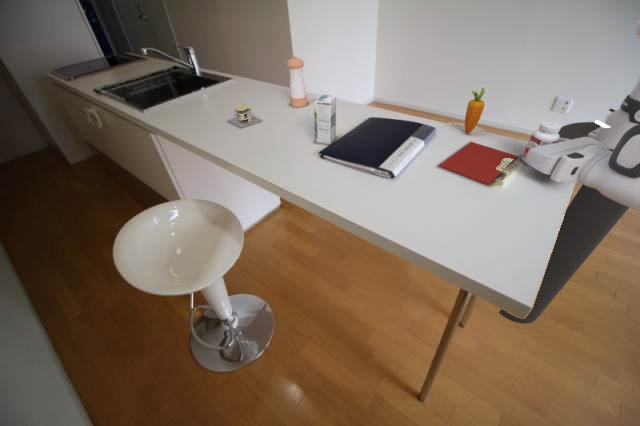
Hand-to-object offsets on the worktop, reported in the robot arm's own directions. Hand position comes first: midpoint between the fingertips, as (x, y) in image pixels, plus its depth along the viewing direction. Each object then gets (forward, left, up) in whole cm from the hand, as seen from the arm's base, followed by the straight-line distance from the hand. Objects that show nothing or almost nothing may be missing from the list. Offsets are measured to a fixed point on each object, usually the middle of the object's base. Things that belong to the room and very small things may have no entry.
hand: (539, 140), depth 80 cm
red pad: (+11, -10, -6) cm, 16 cm away
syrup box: (+31, -54, -6) cm, 63 cm away
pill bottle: (0, +1, -6) cm, 6 cm away
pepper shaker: (+14, -89, -6) cm, 91 cm away
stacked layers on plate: (+41, -91, -6) cm, 100 cm away
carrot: (-5, -21, -6) cm, 23 cm away
